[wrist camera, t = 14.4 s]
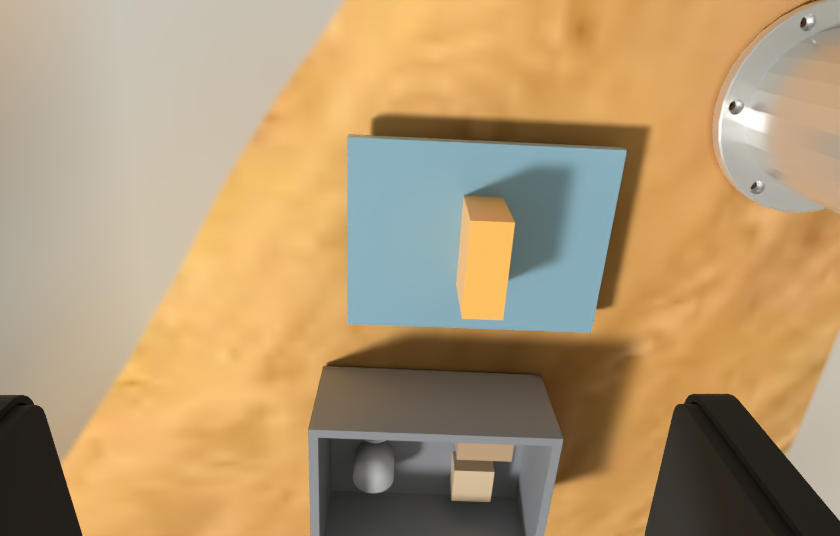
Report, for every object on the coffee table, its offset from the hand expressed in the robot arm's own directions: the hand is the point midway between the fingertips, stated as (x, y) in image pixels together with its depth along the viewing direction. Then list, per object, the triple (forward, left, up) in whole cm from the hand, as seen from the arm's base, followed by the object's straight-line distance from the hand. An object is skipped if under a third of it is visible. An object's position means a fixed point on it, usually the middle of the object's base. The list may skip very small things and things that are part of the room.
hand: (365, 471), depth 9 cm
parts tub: (-3, +24, -29) cm, 38 cm away
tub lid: (-5, +7, -29) cm, 30 cm away
